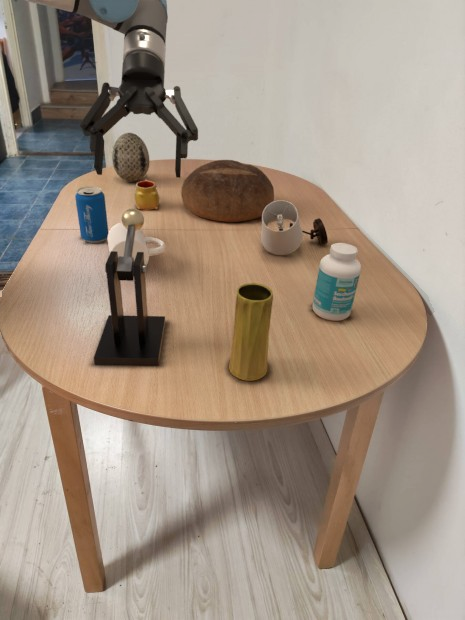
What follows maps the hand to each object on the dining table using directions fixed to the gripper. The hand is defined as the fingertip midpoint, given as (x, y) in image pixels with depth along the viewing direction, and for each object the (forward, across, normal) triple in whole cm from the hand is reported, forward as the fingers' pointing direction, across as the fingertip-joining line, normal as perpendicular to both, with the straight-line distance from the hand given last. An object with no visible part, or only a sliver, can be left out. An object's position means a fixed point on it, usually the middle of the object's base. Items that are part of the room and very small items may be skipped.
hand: (138, 172), depth 78 cm
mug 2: (-18, -5, +52) cm, 56 cm away
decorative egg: (-33, -13, +67) cm, 76 cm away
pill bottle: (+21, +36, +12) cm, 44 cm away
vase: (+34, +19, 0) cm, 39 cm away
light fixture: (+2, +33, +32) cm, 46 cm away
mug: (+8, -3, +25) cm, 27 cm away
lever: (+15, 0, -2) cm, 15 cm away
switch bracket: (+29, 0, +5) cm, 29 cm away
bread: (-18, +18, +51) cm, 57 cm away
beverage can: (0, -15, +34) cm, 37 cm away
